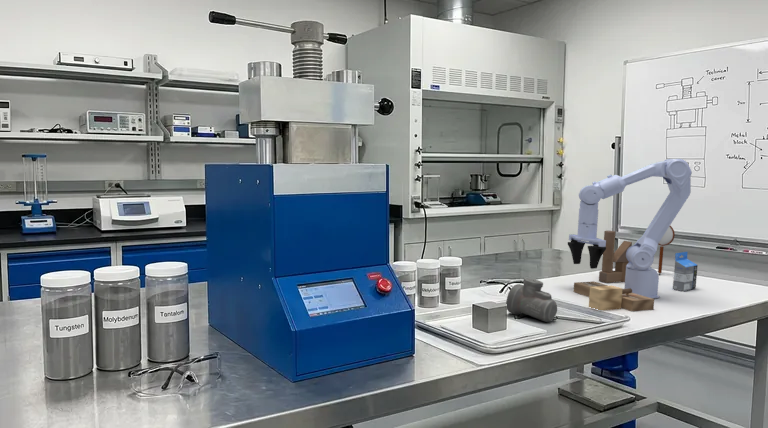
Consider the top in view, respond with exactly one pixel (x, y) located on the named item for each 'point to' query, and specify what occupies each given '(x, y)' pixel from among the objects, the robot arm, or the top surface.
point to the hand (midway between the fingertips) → (584, 266)
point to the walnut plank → (628, 301)
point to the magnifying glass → (664, 241)
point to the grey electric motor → (531, 300)
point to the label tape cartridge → (684, 273)
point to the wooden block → (614, 260)
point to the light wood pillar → (607, 297)
